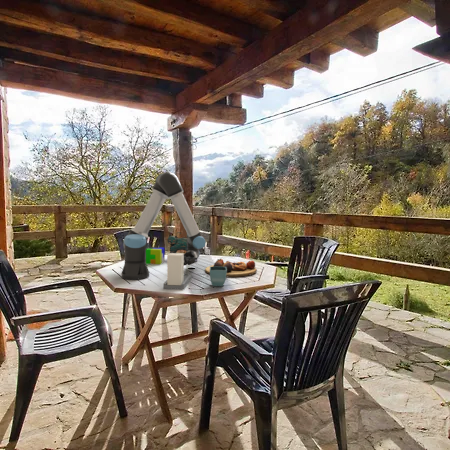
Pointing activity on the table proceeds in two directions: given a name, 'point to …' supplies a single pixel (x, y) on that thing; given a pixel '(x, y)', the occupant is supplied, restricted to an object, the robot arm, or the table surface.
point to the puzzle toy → (155, 255)
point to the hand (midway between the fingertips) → (180, 265)
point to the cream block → (175, 268)
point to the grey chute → (184, 284)
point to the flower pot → (218, 275)
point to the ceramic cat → (177, 243)
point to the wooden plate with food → (235, 268)
